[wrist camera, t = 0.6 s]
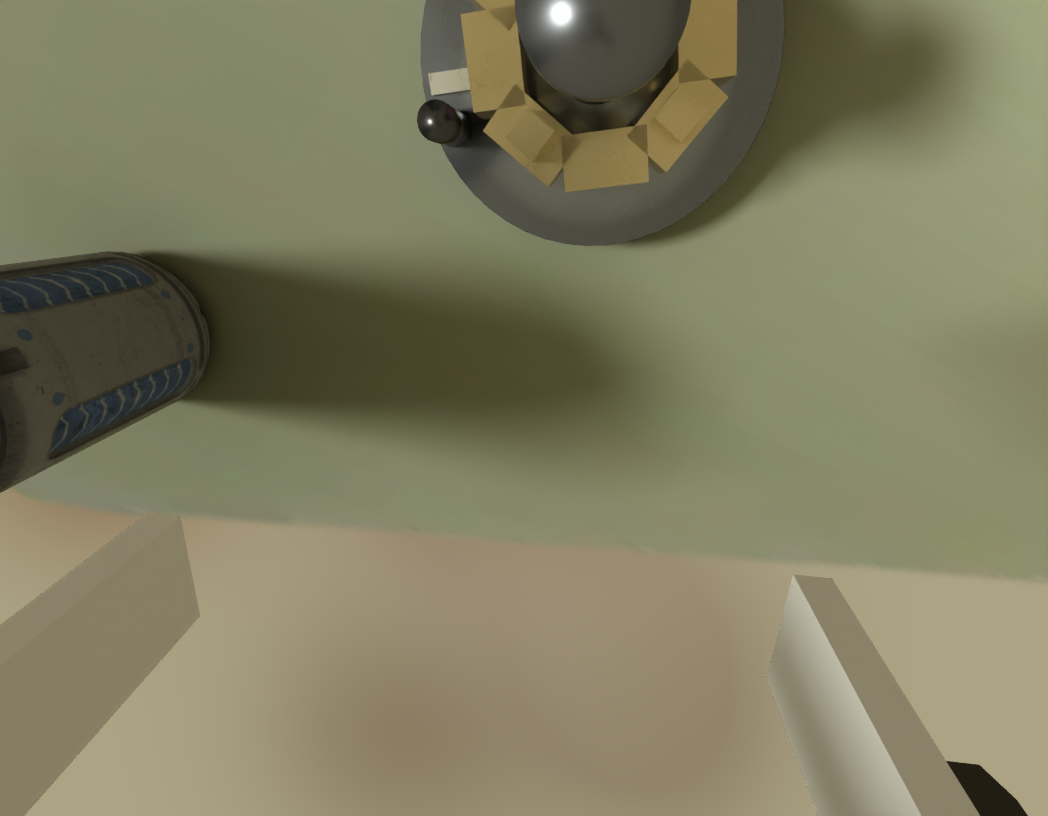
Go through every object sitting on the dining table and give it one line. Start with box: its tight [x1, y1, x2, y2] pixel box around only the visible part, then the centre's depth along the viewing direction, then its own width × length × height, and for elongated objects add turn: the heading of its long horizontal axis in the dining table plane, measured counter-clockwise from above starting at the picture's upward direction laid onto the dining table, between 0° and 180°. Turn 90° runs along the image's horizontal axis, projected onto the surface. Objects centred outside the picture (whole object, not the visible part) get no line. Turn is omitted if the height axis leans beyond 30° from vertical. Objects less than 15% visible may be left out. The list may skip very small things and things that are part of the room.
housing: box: [417, 0, 784, 246], centre depth 25 cm, size 18×18×12 cm
